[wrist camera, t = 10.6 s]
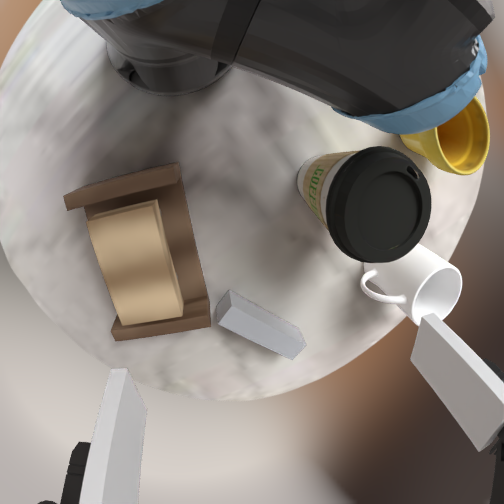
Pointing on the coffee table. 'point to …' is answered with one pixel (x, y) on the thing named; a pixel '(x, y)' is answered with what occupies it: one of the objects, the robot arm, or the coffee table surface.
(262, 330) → the wedge
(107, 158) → the coffee table surface
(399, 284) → the mug
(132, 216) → the board
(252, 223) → the coffee table surface
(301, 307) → the coffee table surface
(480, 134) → the plant pot
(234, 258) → the coffee table surface
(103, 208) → the cradle
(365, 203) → the coffee cup
